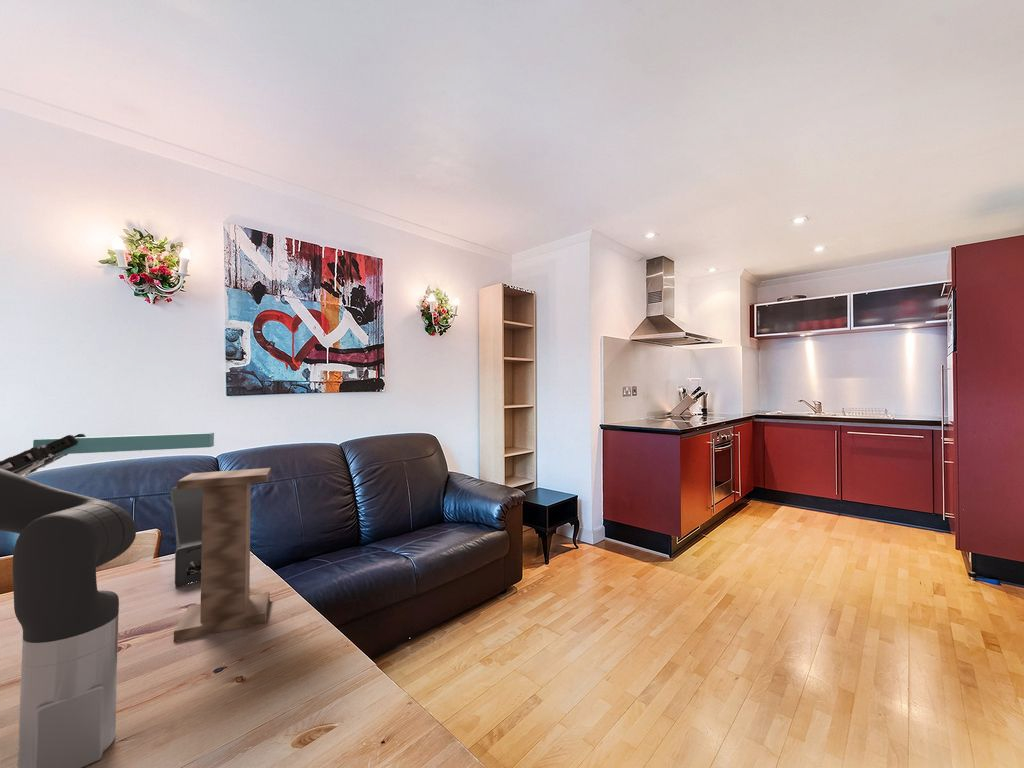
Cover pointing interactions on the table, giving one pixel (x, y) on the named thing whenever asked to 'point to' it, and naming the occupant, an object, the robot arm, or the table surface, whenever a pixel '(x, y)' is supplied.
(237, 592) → the walnut stand
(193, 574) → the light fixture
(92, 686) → the robot arm
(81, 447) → the teal bar
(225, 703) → the table surface
